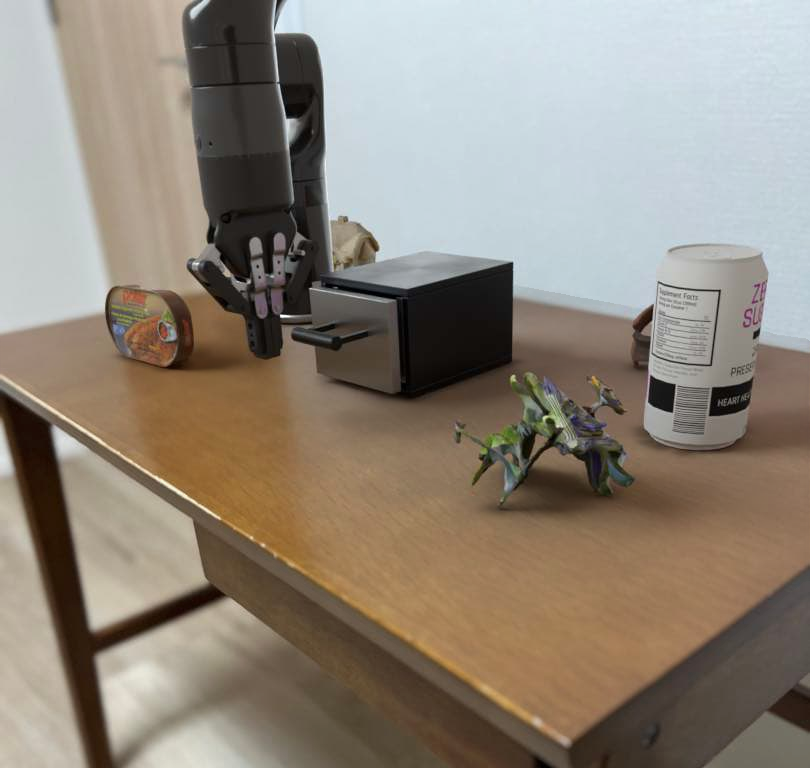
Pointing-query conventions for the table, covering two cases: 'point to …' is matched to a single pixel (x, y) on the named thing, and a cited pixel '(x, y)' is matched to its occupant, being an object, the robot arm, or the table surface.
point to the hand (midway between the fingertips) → (267, 356)
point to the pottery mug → (641, 337)
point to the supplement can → (704, 344)
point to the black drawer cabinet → (443, 313)
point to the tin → (149, 324)
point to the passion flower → (555, 436)
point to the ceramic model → (351, 244)
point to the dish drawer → (356, 337)
